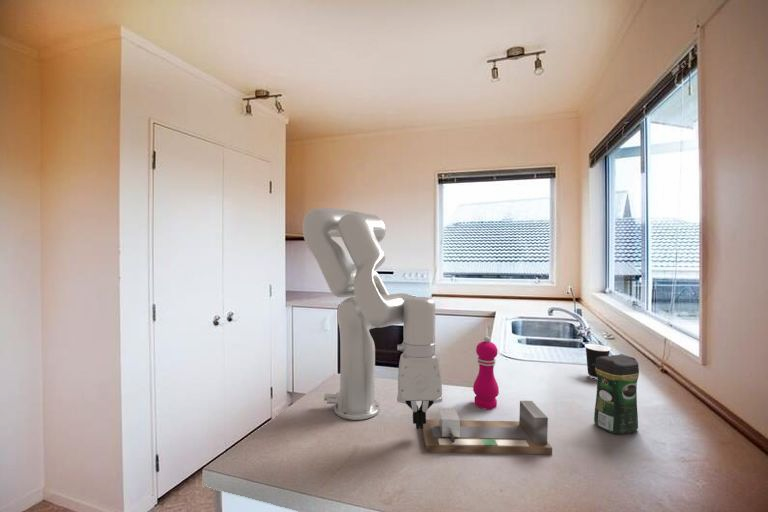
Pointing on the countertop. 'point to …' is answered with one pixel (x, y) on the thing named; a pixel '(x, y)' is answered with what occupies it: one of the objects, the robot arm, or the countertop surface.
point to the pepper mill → (486, 375)
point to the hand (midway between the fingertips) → (419, 426)
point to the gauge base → (494, 435)
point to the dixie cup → (594, 357)
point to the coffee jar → (616, 393)
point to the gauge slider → (449, 423)
